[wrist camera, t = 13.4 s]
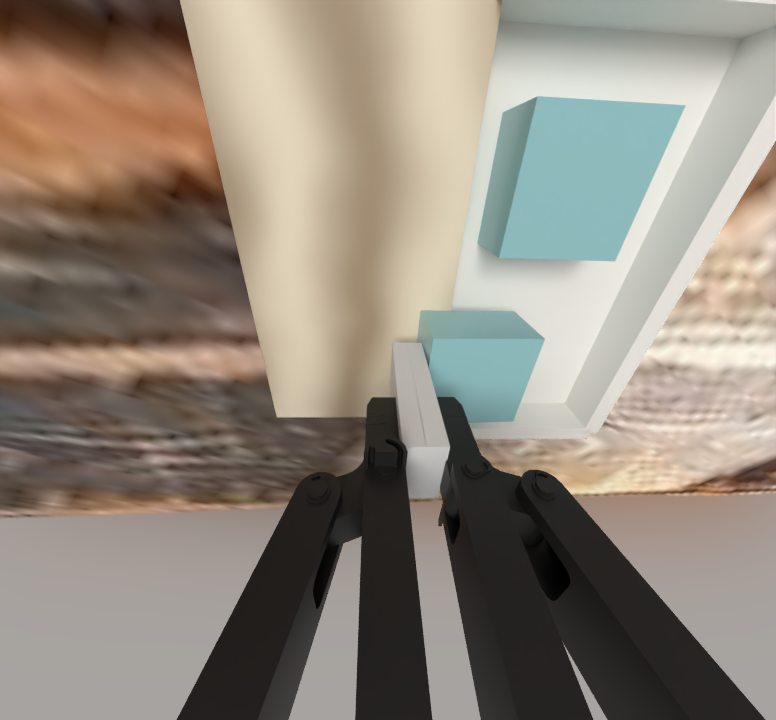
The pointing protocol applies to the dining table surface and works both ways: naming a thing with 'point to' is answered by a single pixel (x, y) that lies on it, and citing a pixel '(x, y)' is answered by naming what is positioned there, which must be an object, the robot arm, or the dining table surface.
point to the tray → (660, 204)
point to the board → (343, 174)
